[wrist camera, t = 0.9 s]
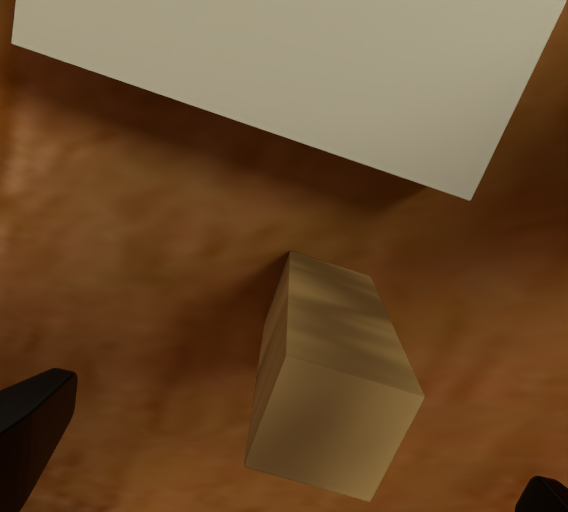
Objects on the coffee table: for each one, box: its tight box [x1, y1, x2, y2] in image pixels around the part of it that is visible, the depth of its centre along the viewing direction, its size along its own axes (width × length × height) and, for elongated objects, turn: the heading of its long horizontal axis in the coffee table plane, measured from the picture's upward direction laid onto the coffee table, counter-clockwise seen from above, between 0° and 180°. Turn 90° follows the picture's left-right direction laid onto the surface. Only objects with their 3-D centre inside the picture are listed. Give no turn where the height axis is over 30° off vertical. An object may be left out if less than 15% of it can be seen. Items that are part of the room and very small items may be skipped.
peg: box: [244, 250, 425, 502], centre depth 16 cm, size 4×4×9 cm
